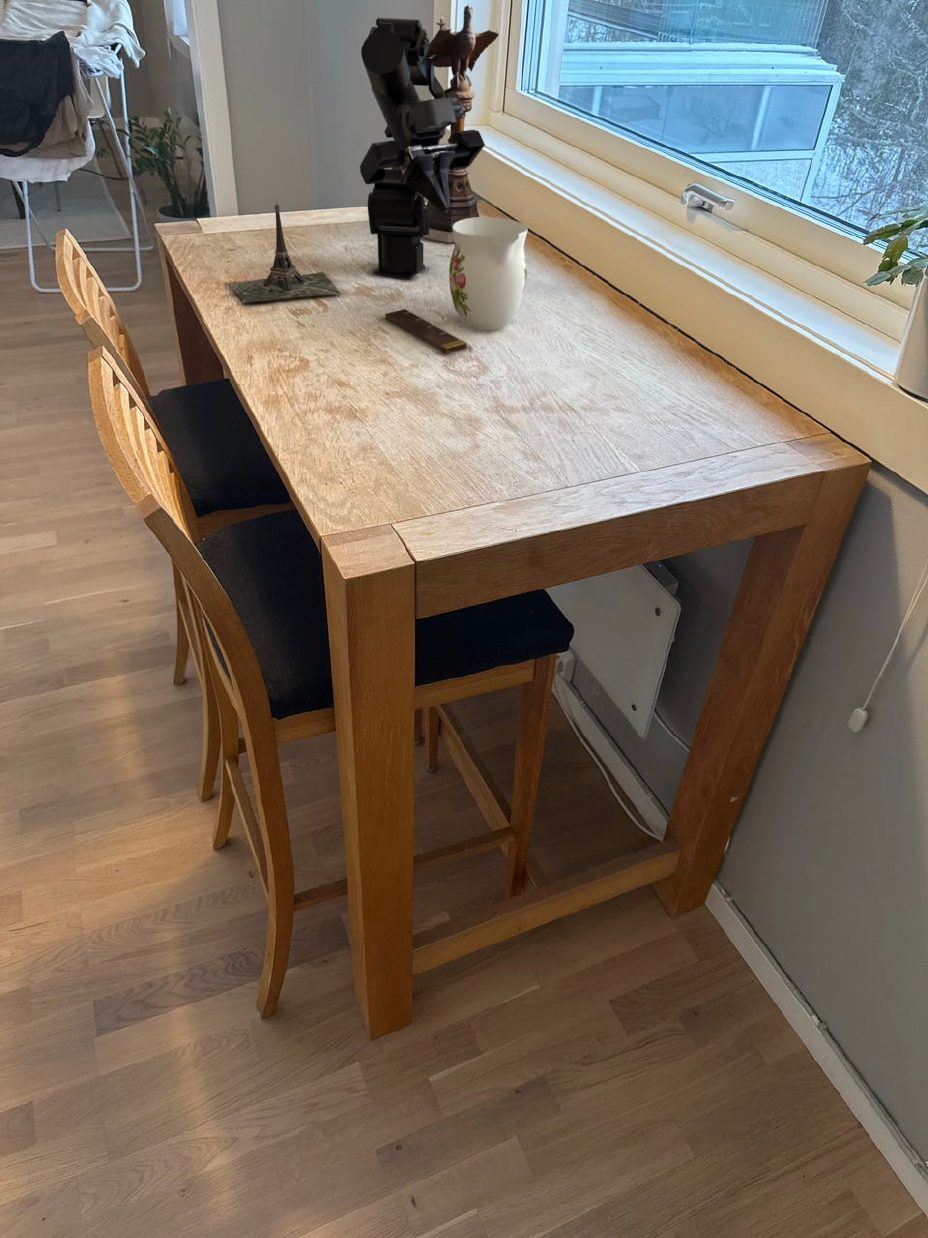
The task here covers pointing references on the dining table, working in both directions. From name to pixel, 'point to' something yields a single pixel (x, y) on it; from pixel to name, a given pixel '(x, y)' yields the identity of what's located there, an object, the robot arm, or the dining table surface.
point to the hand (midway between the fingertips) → (446, 210)
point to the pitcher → (488, 271)
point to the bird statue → (458, 55)
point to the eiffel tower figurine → (284, 278)
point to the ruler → (426, 331)
